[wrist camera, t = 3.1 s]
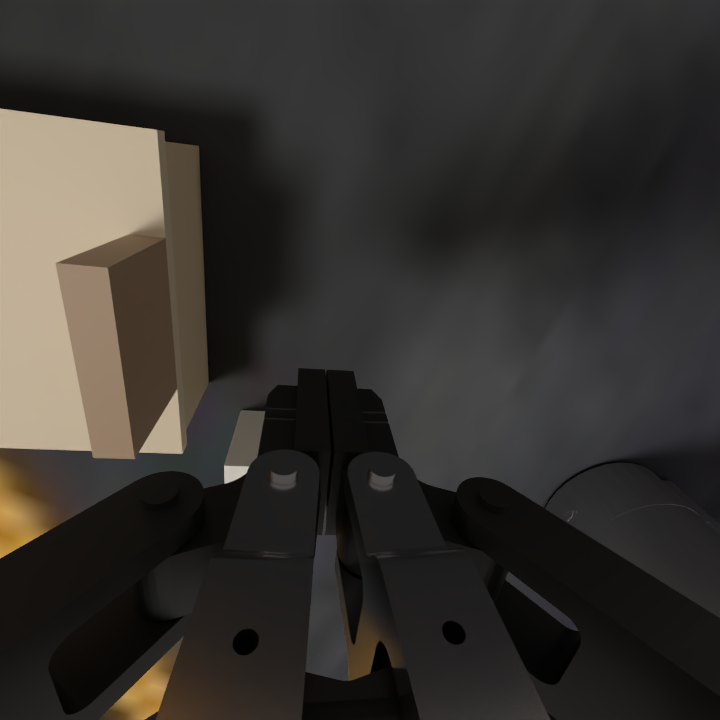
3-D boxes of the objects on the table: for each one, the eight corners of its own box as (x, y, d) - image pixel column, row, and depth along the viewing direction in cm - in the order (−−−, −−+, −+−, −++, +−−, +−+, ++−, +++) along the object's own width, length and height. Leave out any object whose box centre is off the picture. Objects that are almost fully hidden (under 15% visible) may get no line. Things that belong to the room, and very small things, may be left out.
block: (317, 413, 25) (317, 468, 20) (311, 471, 27) (311, 533, 22) (240, 409, 24) (224, 465, 20) (241, 469, 26) (225, 532, 22)
